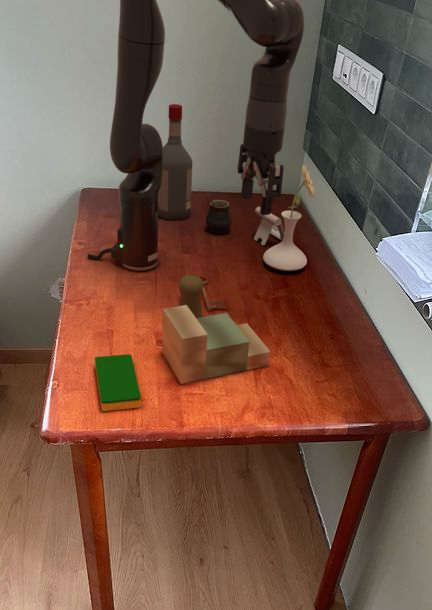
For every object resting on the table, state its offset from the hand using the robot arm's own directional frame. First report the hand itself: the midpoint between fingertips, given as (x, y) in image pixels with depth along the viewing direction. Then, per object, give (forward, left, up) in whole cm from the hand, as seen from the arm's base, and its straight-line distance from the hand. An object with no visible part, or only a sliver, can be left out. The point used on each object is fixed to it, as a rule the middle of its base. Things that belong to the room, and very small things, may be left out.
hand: (255, 205), depth 125 cm
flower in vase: (+6, +27, -25) cm, 37 cm away
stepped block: (-3, -20, -25) cm, 32 cm away
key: (-10, +5, -25) cm, 27 cm away
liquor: (-30, +48, -25) cm, 62 cm away
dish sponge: (-19, -34, -25) cm, 46 cm away
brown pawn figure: (-11, -8, -25) cm, 29 cm away
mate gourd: (-15, +41, -25) cm, 50 cm away
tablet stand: (0, +40, -25) cm, 47 cm away
